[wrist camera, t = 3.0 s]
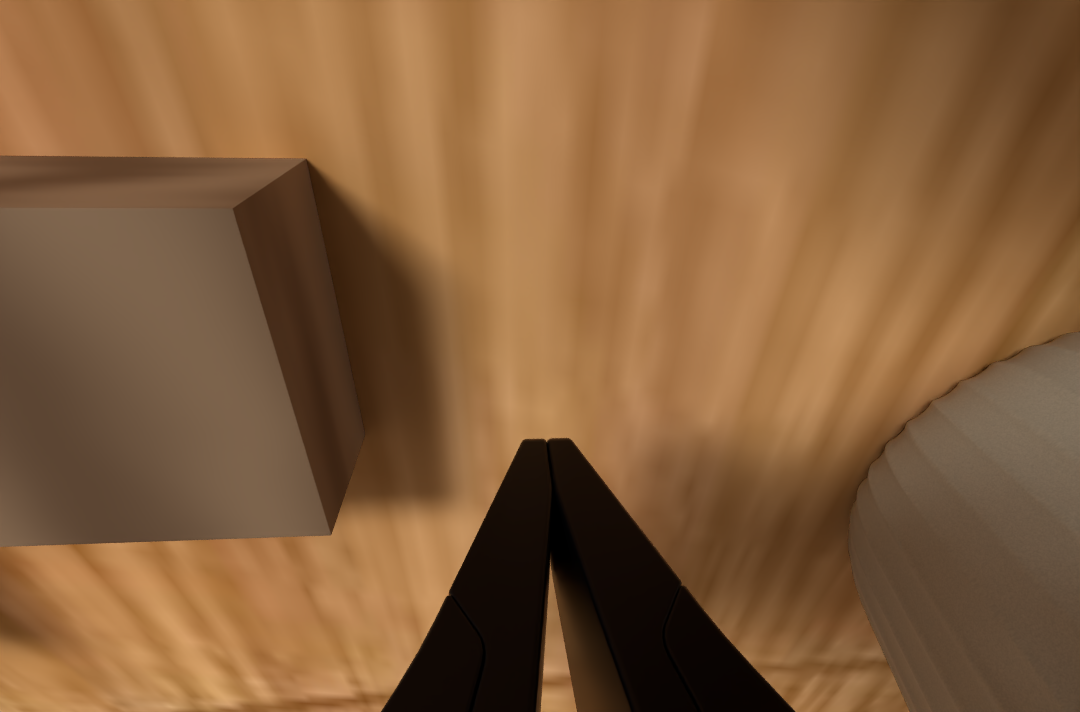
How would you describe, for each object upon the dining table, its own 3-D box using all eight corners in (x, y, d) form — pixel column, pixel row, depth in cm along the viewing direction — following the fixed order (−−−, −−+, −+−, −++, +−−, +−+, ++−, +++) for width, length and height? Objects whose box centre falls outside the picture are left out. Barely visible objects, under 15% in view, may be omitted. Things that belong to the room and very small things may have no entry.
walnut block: (311, 155, 12) (232, 208, 8) (367, 427, 16) (331, 535, 13) (-170, 150, 11) (-466, 206, 8) (24, 435, 15) (-110, 550, 12)
